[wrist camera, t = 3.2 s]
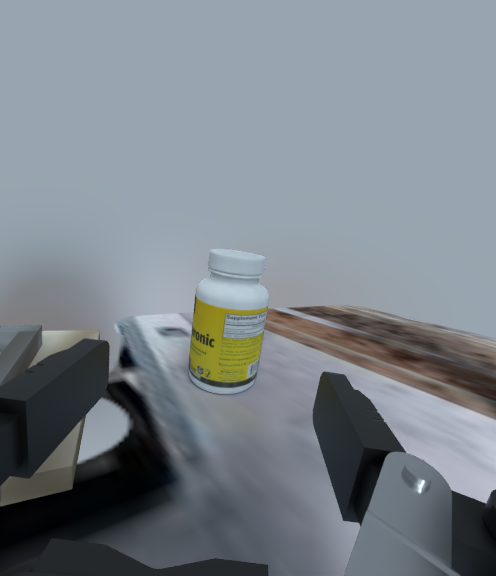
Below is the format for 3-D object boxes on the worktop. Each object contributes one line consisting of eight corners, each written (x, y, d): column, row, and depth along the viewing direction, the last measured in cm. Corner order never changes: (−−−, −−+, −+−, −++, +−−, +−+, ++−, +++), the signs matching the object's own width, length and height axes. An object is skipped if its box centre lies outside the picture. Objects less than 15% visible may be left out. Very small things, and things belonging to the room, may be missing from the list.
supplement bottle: (181, 360, 23) (193, 244, 20) (241, 357, 25) (257, 251, 23) (194, 401, 18) (211, 255, 16) (266, 393, 20) (290, 262, 18)
